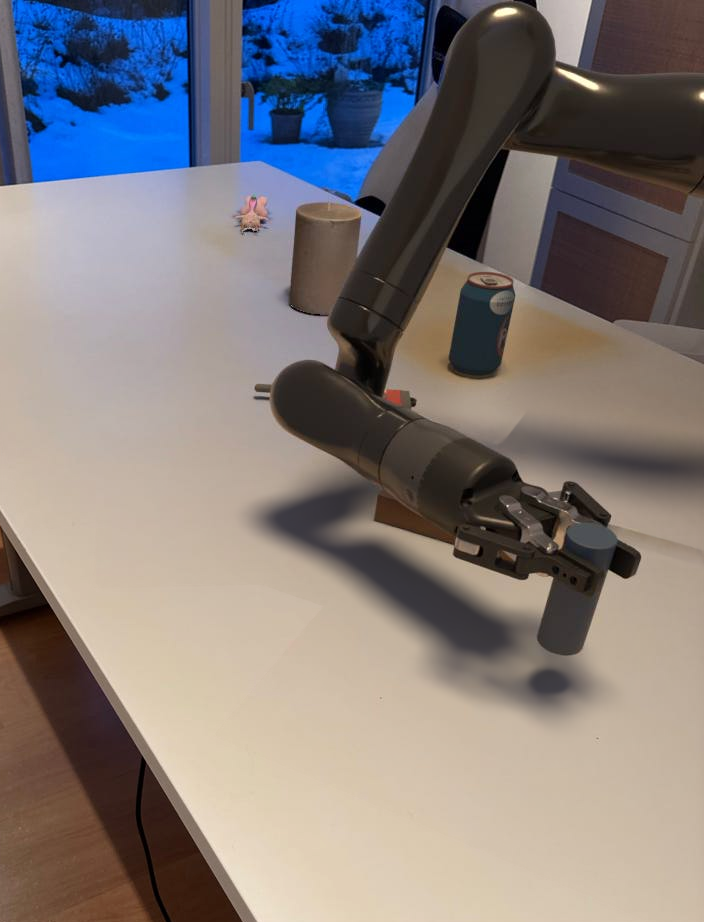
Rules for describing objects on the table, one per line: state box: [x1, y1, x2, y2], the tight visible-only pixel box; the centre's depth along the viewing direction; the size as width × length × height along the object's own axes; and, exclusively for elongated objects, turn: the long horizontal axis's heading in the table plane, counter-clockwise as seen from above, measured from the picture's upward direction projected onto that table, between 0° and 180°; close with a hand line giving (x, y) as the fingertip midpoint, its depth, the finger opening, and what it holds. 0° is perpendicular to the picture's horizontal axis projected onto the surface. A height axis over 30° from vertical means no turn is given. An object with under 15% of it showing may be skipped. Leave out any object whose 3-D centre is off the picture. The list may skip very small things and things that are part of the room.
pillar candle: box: [288, 200, 363, 316], centre depth 142 cm, size 10×10×15 cm
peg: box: [536, 523, 619, 657], centre depth 73 cm, size 4×4×10 cm
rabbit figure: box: [235, 194, 269, 231], centre depth 179 cm, size 6×6×15 cm
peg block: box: [373, 489, 593, 563], centre depth 95 cm, size 8×20×3 cm, turn 60°
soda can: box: [448, 271, 516, 379], centre depth 125 cm, size 7×7×12 cm
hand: (616, 575), depth 69 cm, fingers closed on peg, 3 cm apart
